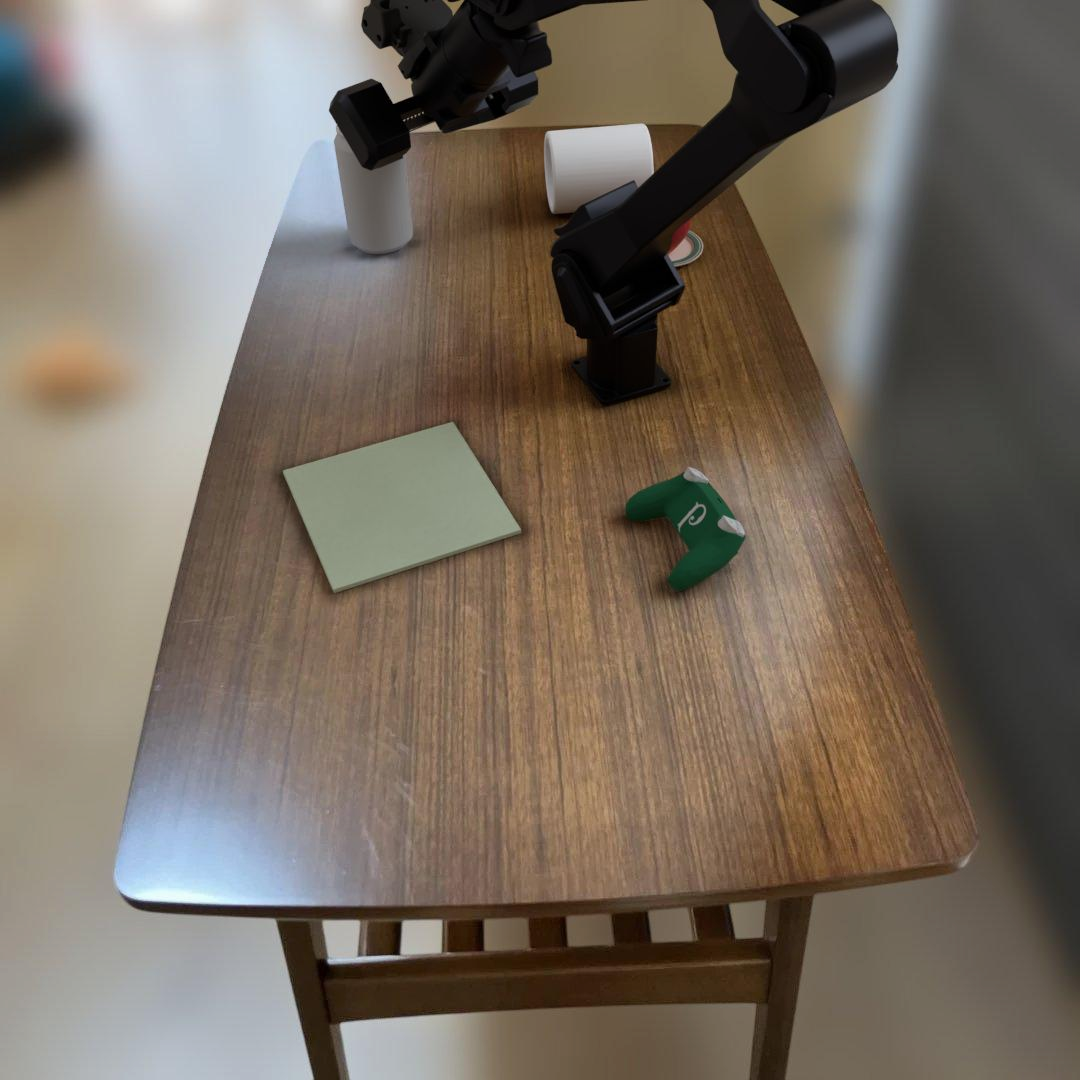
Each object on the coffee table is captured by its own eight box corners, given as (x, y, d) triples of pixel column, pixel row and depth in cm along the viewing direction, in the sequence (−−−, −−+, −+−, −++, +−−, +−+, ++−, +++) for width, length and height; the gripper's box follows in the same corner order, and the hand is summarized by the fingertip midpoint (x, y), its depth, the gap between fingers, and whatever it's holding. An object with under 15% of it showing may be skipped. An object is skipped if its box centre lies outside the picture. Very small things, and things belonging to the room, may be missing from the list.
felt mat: (521, 533, 81) (521, 529, 80) (333, 593, 77) (333, 589, 77) (453, 425, 90) (453, 421, 90) (283, 474, 86) (282, 470, 86)
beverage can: (342, 234, 113) (323, 118, 105) (403, 220, 115) (388, 105, 106) (360, 263, 109) (342, 144, 101) (423, 249, 111) (409, 130, 102)
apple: (709, 269, 106) (714, 205, 102) (625, 274, 106) (627, 210, 101) (695, 228, 112) (700, 166, 107) (615, 232, 112) (617, 170, 107)
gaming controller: (702, 608, 77) (764, 549, 75) (668, 591, 75) (732, 529, 73) (648, 523, 84) (704, 467, 82) (615, 505, 81) (672, 446, 79)
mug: (652, 219, 113) (655, 143, 108) (554, 228, 113) (553, 152, 107) (630, 167, 122) (632, 94, 117) (540, 175, 121) (537, 102, 116)
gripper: (510, -72, 91) (435, 35, 104) (323, -14, 82) (267, 95, 95) (579, 52, 92) (497, 141, 106) (402, 123, 83) (336, 211, 97)
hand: (402, 144), depth 101 cm, fingers open, 9 cm apart
